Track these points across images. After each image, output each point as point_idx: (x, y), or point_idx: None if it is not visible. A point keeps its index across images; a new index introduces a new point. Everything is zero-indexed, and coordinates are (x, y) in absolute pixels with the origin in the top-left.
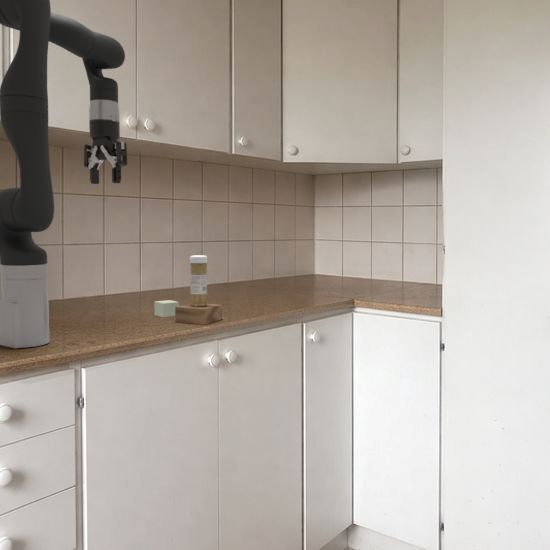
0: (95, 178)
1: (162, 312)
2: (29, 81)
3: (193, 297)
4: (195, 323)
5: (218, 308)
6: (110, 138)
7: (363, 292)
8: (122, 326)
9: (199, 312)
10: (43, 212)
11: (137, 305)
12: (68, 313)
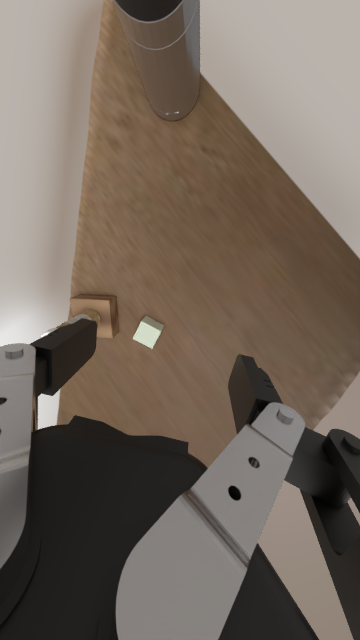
0: (237, 383)
1: (145, 318)
2: None
3: (86, 313)
4: (90, 295)
5: None
6: None
7: None
8: (148, 245)
9: (78, 297)
10: None
11: (223, 373)
12: (267, 291)
